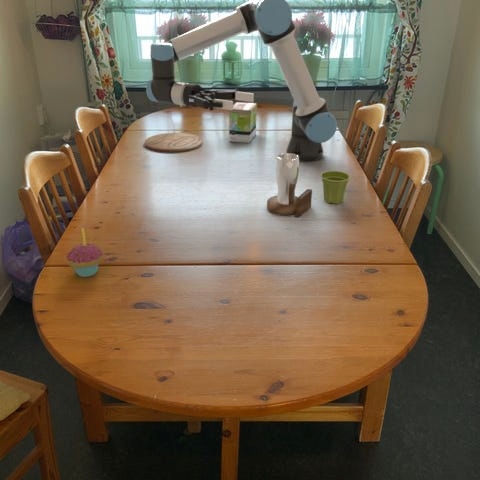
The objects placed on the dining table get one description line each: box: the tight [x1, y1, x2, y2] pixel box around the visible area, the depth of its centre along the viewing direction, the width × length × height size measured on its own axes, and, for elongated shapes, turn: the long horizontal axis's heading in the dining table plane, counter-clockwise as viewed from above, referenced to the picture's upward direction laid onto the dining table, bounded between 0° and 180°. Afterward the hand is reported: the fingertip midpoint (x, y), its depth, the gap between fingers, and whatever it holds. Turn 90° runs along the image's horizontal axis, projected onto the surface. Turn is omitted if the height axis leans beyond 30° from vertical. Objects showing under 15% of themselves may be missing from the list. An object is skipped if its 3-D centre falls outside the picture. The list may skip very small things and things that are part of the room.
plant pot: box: [320, 170, 351, 205], centre depth 163 cm, size 9×9×9 cm
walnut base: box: [266, 188, 313, 218], centre depth 158 cm, size 13×12×6 cm
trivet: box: [144, 132, 203, 154], centre depth 220 cm, size 25×25×2 cm
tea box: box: [228, 101, 258, 144], centre depth 226 cm, size 15×10×15 cm
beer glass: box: [275, 153, 300, 206], centre depth 155 cm, size 7×7×15 cm
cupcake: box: [66, 224, 104, 278], centre depth 121 cm, size 9×8×12 cm
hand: (243, 101), depth 159 cm, fingers open, 13 cm apart
